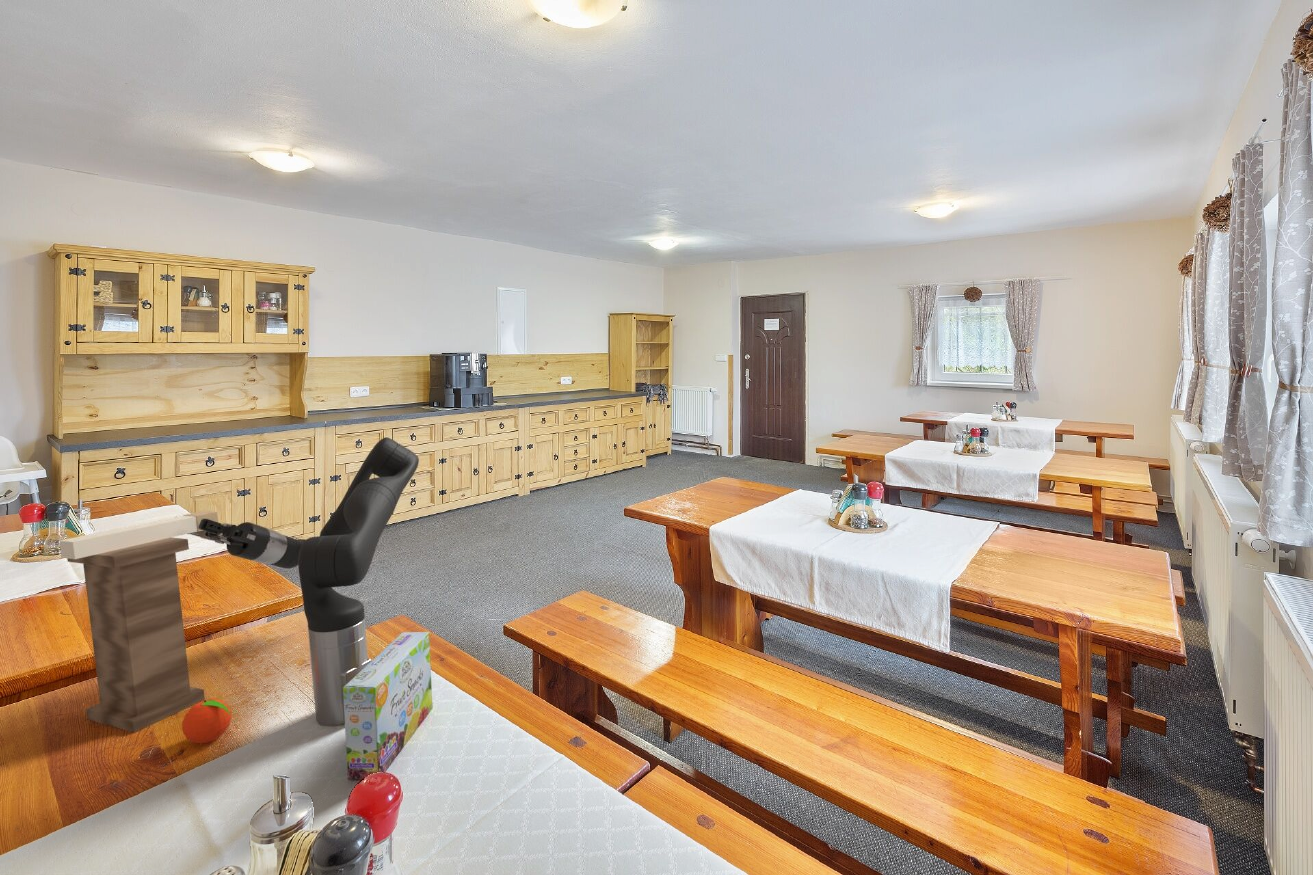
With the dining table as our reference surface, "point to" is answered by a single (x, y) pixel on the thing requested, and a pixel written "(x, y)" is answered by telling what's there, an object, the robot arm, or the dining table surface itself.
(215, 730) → the clementine
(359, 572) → the robot arm
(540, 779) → the dining table surface
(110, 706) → the walnut pedestal
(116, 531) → the cream wooden bar
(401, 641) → the snack box
